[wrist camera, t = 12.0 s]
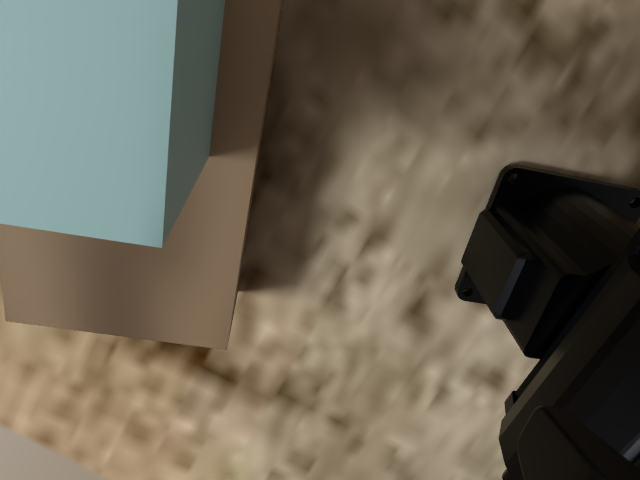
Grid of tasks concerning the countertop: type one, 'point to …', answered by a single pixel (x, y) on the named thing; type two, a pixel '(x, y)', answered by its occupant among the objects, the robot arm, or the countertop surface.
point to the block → (105, 113)
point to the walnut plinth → (185, 237)
